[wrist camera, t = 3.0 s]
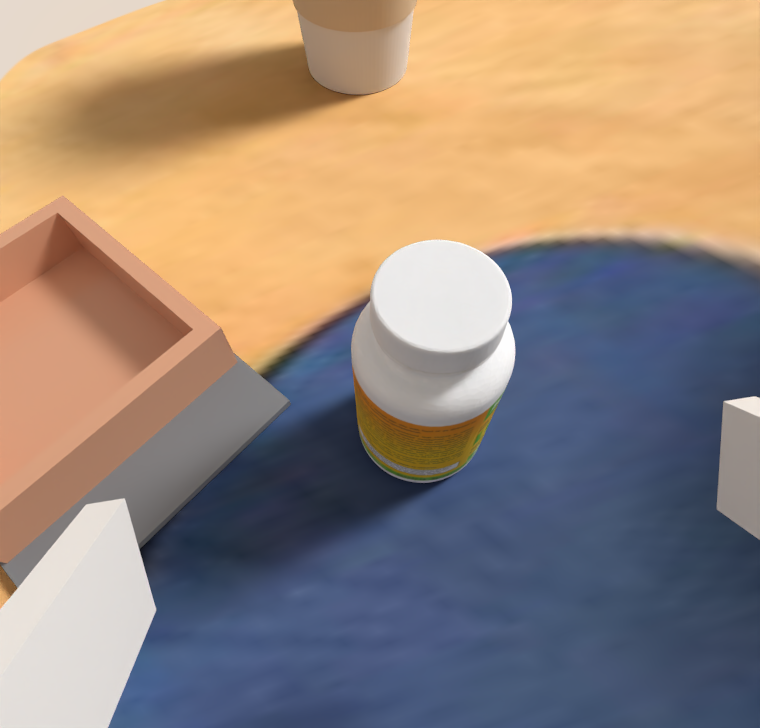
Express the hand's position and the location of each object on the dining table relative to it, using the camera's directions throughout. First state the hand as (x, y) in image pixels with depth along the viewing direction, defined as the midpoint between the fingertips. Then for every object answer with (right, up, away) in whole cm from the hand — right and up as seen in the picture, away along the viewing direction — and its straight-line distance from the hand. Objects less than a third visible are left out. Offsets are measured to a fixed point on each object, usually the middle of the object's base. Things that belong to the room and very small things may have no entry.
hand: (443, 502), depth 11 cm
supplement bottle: (0, 0, +12) cm, 12 cm away
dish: (-16, +3, +12) cm, 21 cm away
